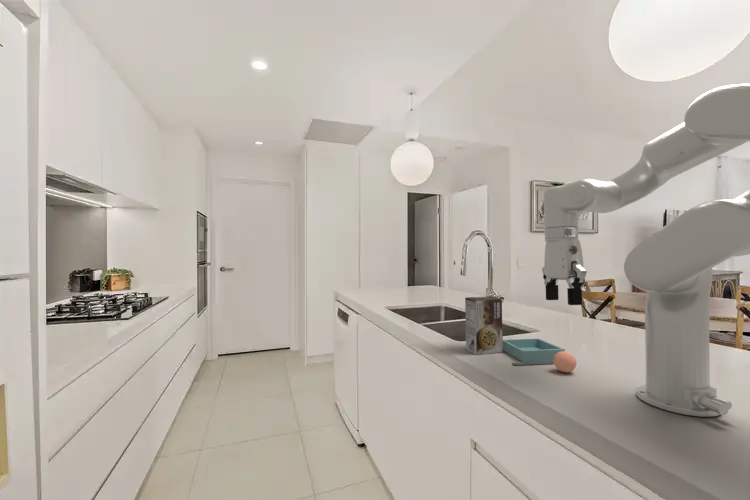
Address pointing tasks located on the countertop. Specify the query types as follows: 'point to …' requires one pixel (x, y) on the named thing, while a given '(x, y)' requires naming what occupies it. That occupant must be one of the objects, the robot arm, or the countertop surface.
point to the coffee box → (484, 325)
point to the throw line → (533, 363)
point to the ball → (564, 361)
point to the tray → (531, 349)
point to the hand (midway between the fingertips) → (562, 302)
